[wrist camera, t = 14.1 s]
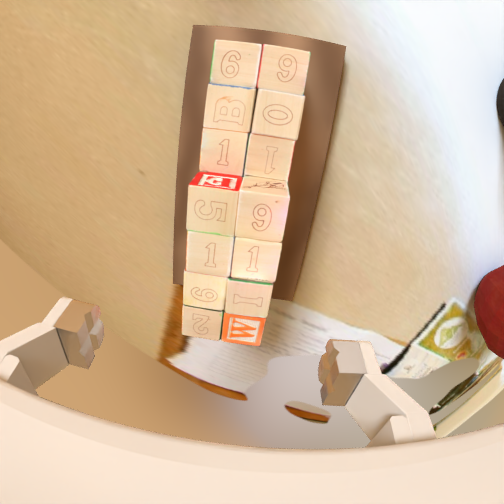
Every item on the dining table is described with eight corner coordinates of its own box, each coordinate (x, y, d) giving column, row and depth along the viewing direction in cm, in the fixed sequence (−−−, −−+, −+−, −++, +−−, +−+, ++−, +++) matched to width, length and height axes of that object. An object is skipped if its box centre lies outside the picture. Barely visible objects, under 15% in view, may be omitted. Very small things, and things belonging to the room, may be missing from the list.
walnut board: (177, 274, 38) (173, 283, 36) (197, 28, 25) (193, 25, 23) (291, 290, 39) (292, 300, 37) (341, 48, 25) (346, 46, 23)
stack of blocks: (231, 53, 24) (206, 27, 14) (300, 63, 25) (323, 44, 14) (205, 259, 35) (180, 337, 24) (262, 267, 35) (260, 349, 24)
